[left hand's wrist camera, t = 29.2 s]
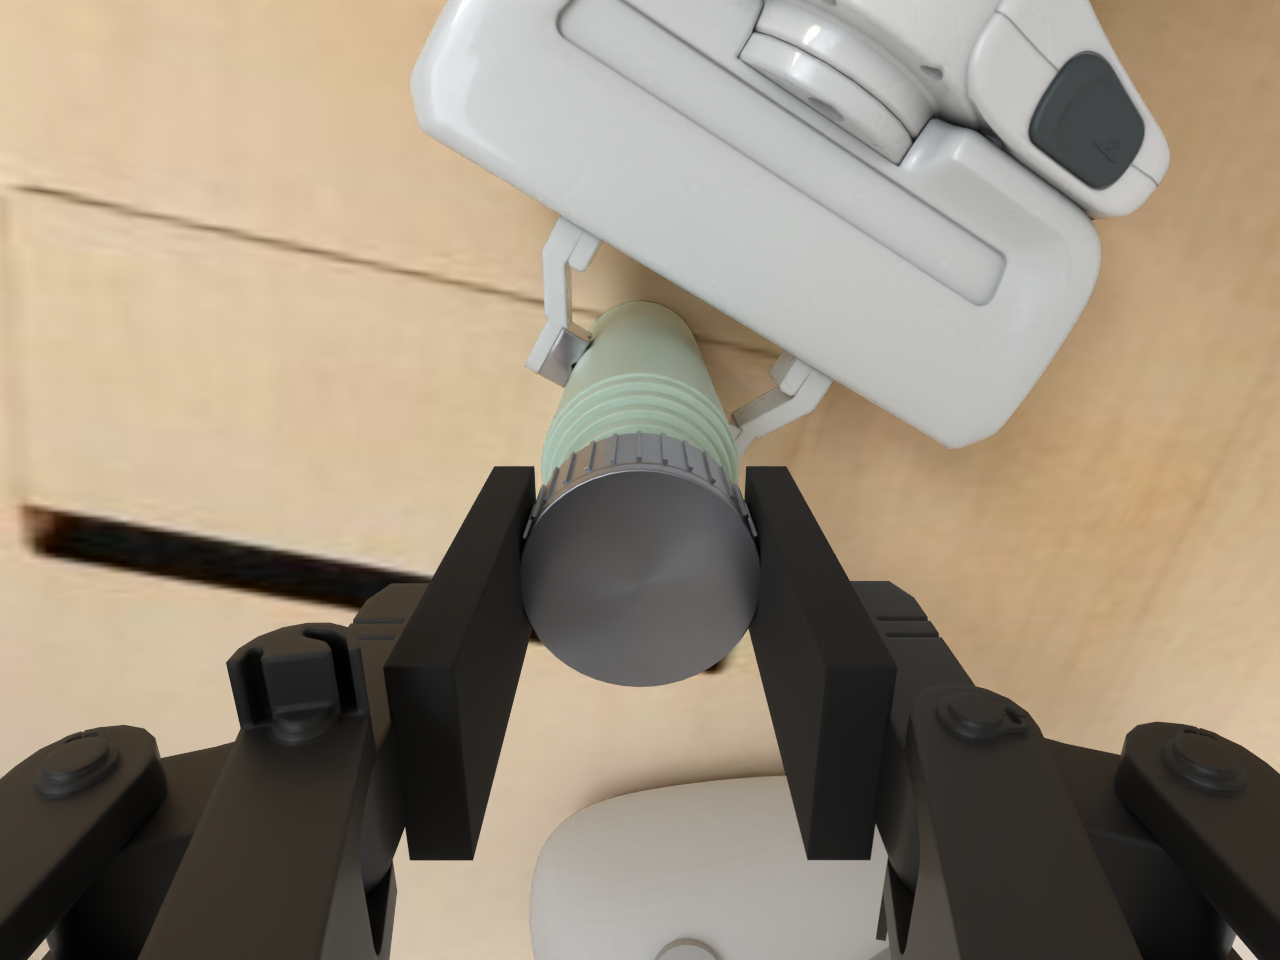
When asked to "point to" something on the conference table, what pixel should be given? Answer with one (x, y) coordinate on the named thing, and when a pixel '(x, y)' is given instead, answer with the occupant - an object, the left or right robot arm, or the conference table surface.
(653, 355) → the bottle
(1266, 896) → the left robot arm
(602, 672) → the cap
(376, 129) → the conference table surface
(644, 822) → the projector
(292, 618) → the conference table surface
